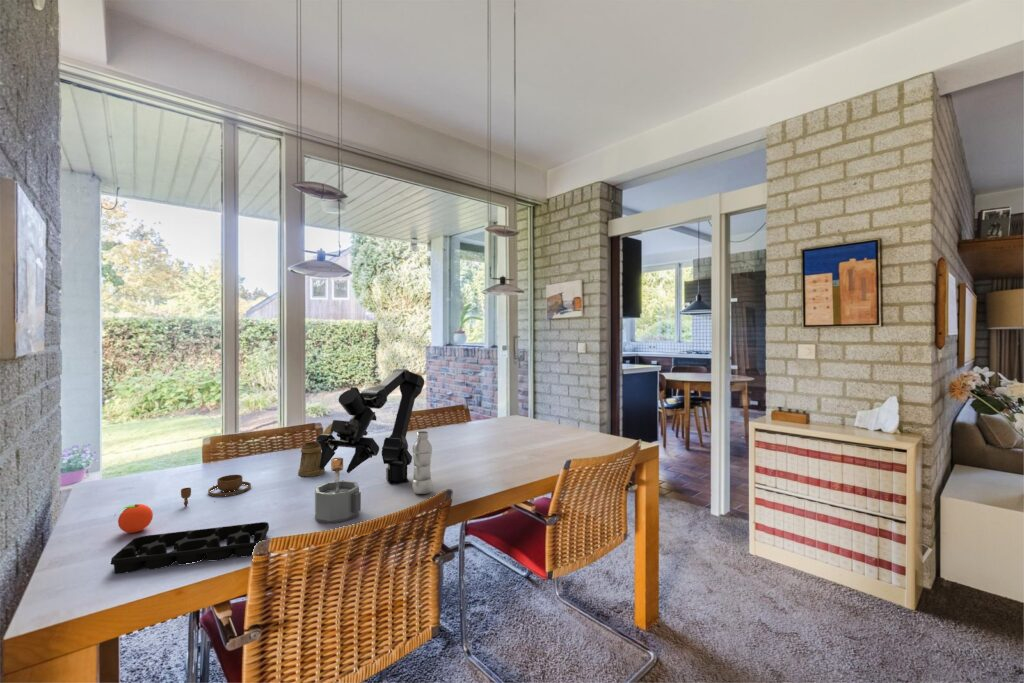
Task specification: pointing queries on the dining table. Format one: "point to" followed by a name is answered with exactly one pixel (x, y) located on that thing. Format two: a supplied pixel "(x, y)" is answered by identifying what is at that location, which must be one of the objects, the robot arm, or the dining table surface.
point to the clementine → (135, 518)
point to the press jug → (337, 502)
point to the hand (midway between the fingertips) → (334, 470)
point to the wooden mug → (312, 457)
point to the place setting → (221, 487)
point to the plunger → (337, 475)
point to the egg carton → (188, 546)
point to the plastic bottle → (422, 464)
